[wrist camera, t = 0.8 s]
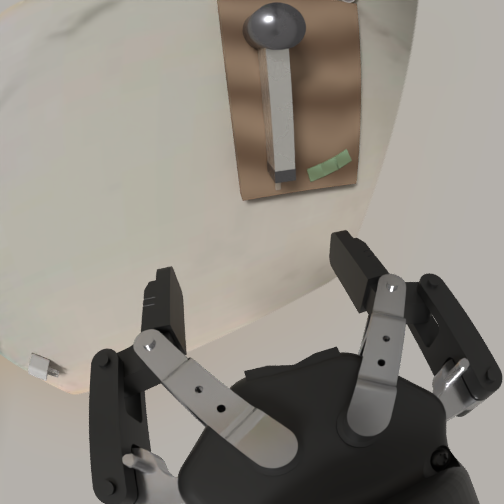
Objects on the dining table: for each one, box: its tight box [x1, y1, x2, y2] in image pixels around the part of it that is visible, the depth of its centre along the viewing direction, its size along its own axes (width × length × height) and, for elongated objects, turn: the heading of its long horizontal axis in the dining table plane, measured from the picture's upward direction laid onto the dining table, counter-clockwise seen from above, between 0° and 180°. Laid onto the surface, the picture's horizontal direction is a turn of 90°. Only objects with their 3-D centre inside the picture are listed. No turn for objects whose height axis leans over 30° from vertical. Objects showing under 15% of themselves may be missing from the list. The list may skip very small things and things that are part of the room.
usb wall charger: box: [28, 353, 59, 381], centre depth 43 cm, size 4×7×4 cm, turn 54°
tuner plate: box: [217, 0, 361, 201], centre depth 25 cm, size 22×14×2 cm, turn 5°
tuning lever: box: [242, 2, 306, 183], centre depth 22 cm, size 17×4×4 cm, turn 5°
